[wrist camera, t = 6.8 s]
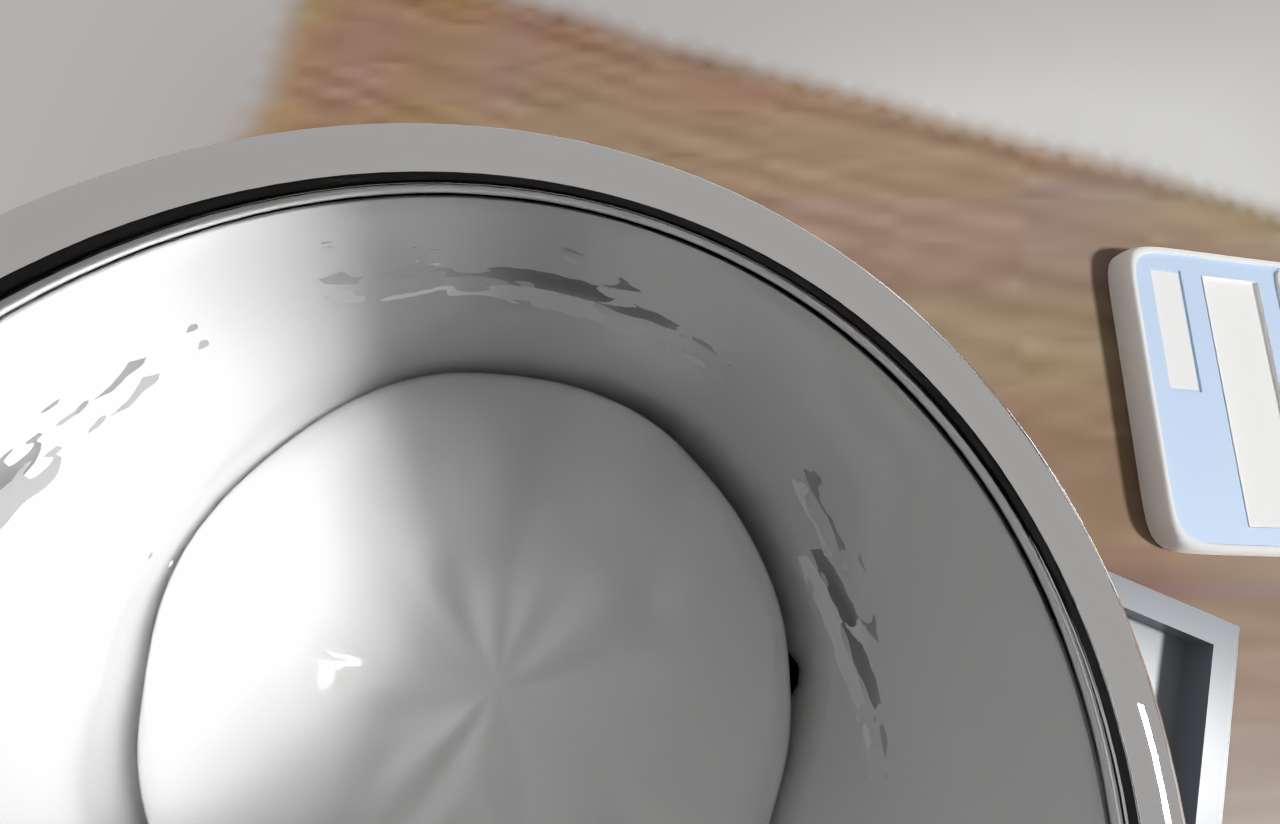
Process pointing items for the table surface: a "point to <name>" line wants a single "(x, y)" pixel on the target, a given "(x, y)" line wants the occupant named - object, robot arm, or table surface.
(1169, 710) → the grey tray
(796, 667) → the robot arm
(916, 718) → the silver metal cup
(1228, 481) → the calculator
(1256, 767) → the table surface
